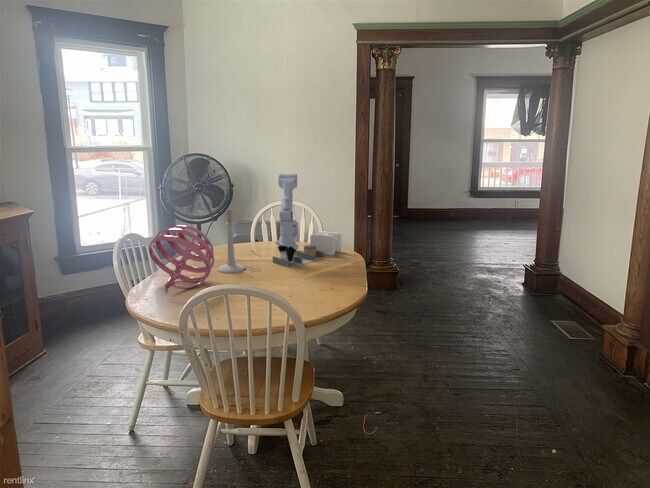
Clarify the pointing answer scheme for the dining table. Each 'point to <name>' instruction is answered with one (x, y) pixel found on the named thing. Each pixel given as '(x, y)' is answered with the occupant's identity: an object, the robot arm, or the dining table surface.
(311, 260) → the grey tiered rack
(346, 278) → the dining table surface
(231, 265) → the candlestick
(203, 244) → the spiral basket
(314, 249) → the brown and grey box
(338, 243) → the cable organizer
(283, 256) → the grey rectangular block
